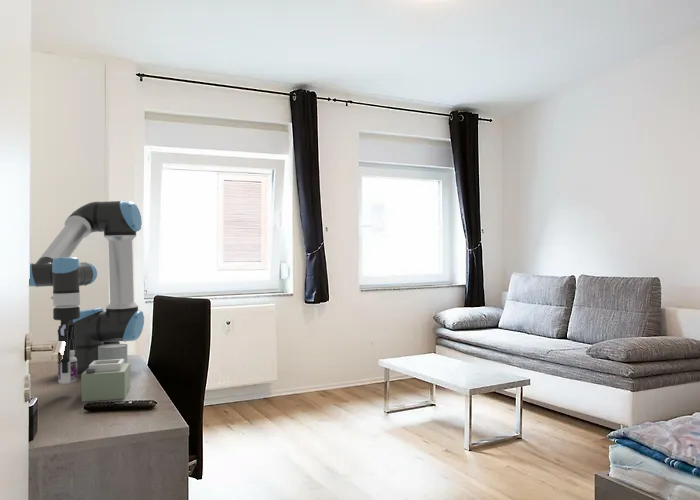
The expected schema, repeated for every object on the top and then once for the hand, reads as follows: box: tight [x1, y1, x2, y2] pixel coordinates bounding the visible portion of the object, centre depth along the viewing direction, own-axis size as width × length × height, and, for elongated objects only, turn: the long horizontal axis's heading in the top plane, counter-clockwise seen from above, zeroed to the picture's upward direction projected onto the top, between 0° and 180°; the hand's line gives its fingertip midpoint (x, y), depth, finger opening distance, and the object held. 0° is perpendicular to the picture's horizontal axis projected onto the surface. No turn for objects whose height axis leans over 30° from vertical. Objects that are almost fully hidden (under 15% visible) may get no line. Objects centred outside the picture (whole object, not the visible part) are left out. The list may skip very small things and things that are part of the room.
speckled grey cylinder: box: [98, 343, 129, 363], centre depth 202 cm, size 10×10×12 cm
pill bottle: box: [57, 350, 78, 385], centre depth 182 cm, size 5×5×10 cm
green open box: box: [80, 359, 132, 403], centre depth 182 cm, size 16×12×10 cm
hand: (67, 380), depth 182 cm, fingers closed on pill bottle, 5 cm apart
